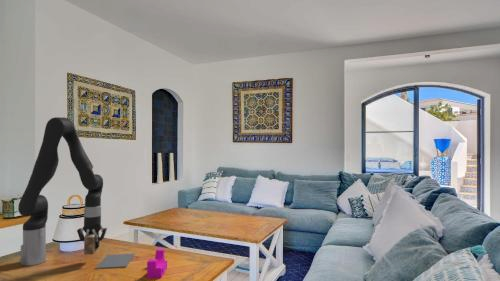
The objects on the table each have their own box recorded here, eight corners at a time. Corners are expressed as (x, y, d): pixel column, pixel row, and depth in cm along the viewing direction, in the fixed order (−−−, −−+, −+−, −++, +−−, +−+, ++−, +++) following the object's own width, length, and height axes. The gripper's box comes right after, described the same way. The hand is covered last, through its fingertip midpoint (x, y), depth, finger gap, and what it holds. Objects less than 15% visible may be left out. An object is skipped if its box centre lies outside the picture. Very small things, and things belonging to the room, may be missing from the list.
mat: (95, 269, 140) (95, 267, 140) (107, 256, 156) (107, 254, 156) (125, 267, 142) (125, 266, 142) (134, 254, 158) (134, 253, 158)
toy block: (161, 278, 131) (161, 261, 131) (147, 278, 131) (147, 261, 131) (169, 264, 146) (169, 249, 146) (156, 264, 146) (156, 249, 146)
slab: (84, 254, 143) (84, 236, 143) (90, 248, 151) (91, 231, 151) (92, 254, 143) (93, 235, 143) (98, 248, 151) (99, 230, 151)
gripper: (74, 216, 142) (73, 252, 142) (105, 216, 144) (104, 251, 144) (80, 212, 150) (79, 246, 150) (110, 212, 152) (109, 245, 152)
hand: (91, 248), depth 147 cm, fingers closed on slab, 4 cm apart
